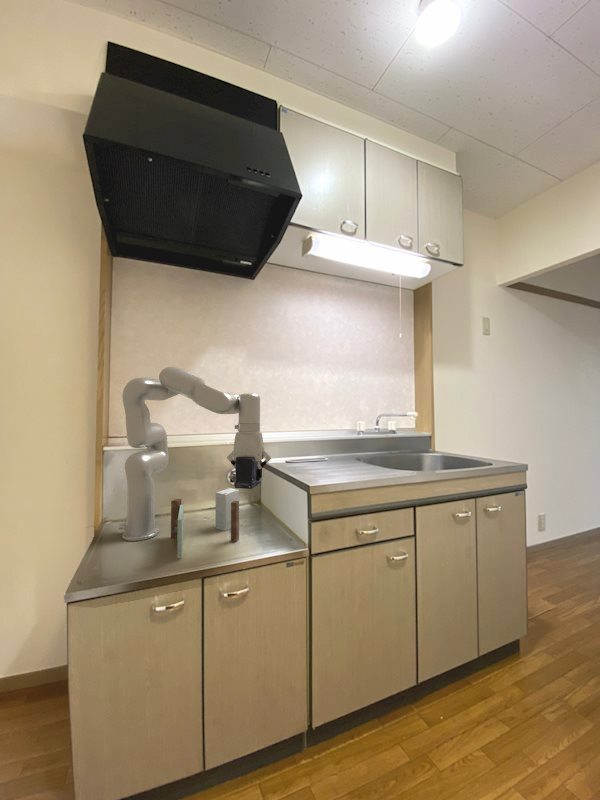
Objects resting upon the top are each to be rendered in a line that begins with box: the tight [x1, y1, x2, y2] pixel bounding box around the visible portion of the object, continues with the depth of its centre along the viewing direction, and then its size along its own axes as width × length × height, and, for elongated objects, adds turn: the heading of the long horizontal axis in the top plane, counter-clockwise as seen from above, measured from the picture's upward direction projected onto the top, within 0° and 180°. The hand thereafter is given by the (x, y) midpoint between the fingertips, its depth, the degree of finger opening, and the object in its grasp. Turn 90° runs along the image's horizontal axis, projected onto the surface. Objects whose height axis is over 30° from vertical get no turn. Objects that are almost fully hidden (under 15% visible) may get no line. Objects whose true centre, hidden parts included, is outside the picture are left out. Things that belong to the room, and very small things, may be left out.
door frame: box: [170, 498, 240, 543], centre depth 121 cm, size 25×3×14 cm, turn 83°
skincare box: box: [215, 487, 240, 532], centre depth 133 cm, size 8×6×15 cm
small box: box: [234, 457, 263, 490], centre depth 115 cm, size 11×6×10 cm, turn 168°
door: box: [174, 503, 185, 559], centre depth 114 cm, size 19×3×12 cm, turn 18°
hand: (248, 479), depth 115 cm, fingers closed on small box, 6 cm apart
